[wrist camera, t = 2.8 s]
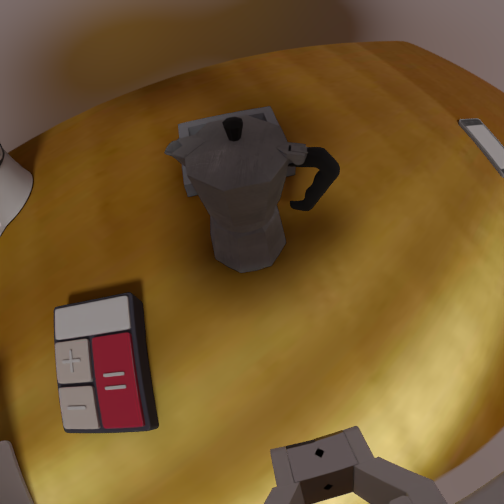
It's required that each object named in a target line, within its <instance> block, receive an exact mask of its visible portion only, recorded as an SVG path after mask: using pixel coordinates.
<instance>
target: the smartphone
mask: <svg viewBox="0 0 504 504" xmlns="http://www.w3.org/2000/svg"><path fill="white" fill-rule="evenodd" d="M458 124H459V125H460V127H461V128H462V129H463V130H464V131H465V132H466V133H467V134H468V136H469V137H470V138H471V139H472V140H473V141H474V142H475V144H476V145H477V146H478V147H479V148H480V150H481V151H482V152H483V153H484V155H485V156H486V157H487V158H488V160H489V161H490V162H491V163H492V165H493V166H494V167H495V169H496V170H497V171H498V173H499V174H500V175H501V176H502V177H503V178H504V147H503V146H502V144H501V143H500V142H499V141H498V140H497V139H496V137H495V136H494V135H493V134H492V133H491V132H490V130H489V129H488V128H487V127H486V126H485V125H484V124H483V123H482V122H481V121H480V120H479V119H477V118H475V119H461V120H459V123H458Z"/></svg>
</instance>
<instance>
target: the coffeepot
mask: <svg viewBox="0 0 504 504" xmlns="http://www.w3.org/2000/svg"><path fill="white" fill-rule="evenodd" d="M305 145H306V144H299V143H289V142H287V139H286V137H285V135H284V133H283V131H282V129H281V127H280V126H278V125H275V124H272V123H269V122H266V121H263V120H260V119H257V118H254V117H251V116H248V115H243V116H237V117H235V116H234V117H229V118H226V119H222V120H217V121H213V122H208V123H207V124H206V125H205V126H204V127H203V128H201V129H200V130H199V131H198V132H197V133H196V134H195V135H191V136H187V137H183V138H179V139H177V140H176V141H172V142H171V143H170V144H169V145H168V146H167V148H166V150H165V154H167V155H170V156H173V157H174V158H175V159H177V160H178V161H179V162H180V163H181V164H183V165H184V166H185V167H186V172H187V176H188V178H189V180H190V182H191V183H192V185H193V187H194V189H195V190H196V192H197V194H198V196H199V197H200V199H201V201H202V203H203V204H204V206H205V208H206V209H207V211H208V213H209V215H210V232H211V239H212V244H213V249H214V254H215V259H216V260H218V261H220V262H222V263H223V264H225V265H226V266H228V267H229V268H232V269H234V270H236V271H238V272H240V273H244V272H250V271H256V270H259V269H262V268H264V267H269V266H271V265H272V264H273V262H274V261H275V259H276V258H277V257H278V256H279V254H280V252H281V250H282V249H283V247H284V245H285V244H286V239H285V235H284V231H283V227H282V223H281V219H280V215H279V211H278V208H277V203H278V201H279V200H280V197H281V193H282V190H283V186H284V182H285V178H286V175H287V171H288V167H289V166H290V167H316V168H318V169H319V171H318V172H317V174H316V175H315V178H314V181H313V184H312V185H311V186H310V187H309V188H308V189H307V190H306V193H305V198H304V200H302V201H290V206H291V208H293V209H297V210H302V211H309V210H311V209H312V208H313V207H314V205H315V204H316V203H317V202H318V200H319V199H320V198H321V196H322V195H323V194H324V193H325V192H326V190H327V189H328V188H329V186H330V185H331V184H332V183H333V181H334V180H335V179H336V178H337V177H338V175H339V172H340V167H339V164H338V163H337V161H336V160H335V159H334V158H333V157H332V156H331V155H330V154H329V153H328V152H327V151H326V150H325V149H324V148H321V147H305Z"/></svg>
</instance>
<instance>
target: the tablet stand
mask: <svg viewBox="0 0 504 504" xmlns="http://www.w3.org/2000/svg"><path fill="white" fill-rule="evenodd" d="M0 504H34V503H33V501H32V498H31V496H30V494H29V491H28V489H27V486H26V484H25V481H24V479H23V476H22V473H21V471H20V468H19V465H18V462H17V459H16V456H15V453H14V450H13V447H12V444H11V443H10V442H9V441H0Z"/></svg>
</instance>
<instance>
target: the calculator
mask: <svg viewBox="0 0 504 504" xmlns="http://www.w3.org/2000/svg"><path fill="white" fill-rule="evenodd" d="M145 335H146V333H145V322H144V311H143V303H142V302H141V301H140V300H139V299H138V298H137V297H136V296H134V295H133V294H132V293H130V292H128V293H123V294H118V295H113V296H108V297H103V298H98V299H93V300H88V301H83V302H78V303H73V304H68V305H63V306H58V307H55V309H54V341H55V359H56V372H57V382H58V391H59V400H60V407H61V414H62V420H63V427H64V430H65V432H67V433H119V432H138V431H149V430H153V429H157V428H158V427H159V423H158V417H157V412H156V406H155V400H154V394H153V387H152V381H151V375H150V368H149V362H148V355H147V347H146V340H145Z"/></svg>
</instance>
